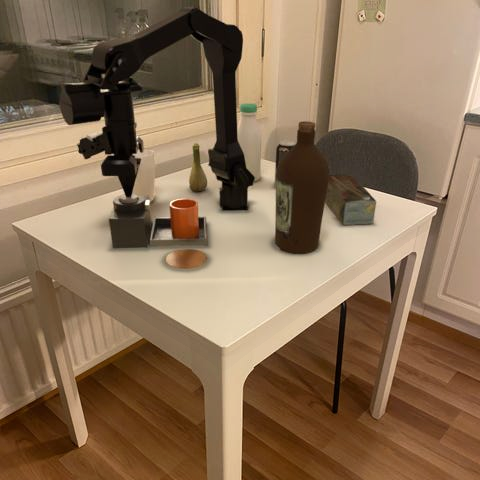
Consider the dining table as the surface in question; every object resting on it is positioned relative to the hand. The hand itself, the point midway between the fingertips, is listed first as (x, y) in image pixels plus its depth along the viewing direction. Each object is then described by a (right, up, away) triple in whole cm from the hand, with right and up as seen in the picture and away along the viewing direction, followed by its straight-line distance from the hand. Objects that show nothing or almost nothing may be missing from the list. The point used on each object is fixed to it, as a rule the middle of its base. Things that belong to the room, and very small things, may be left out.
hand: (128, 196), depth 102 cm
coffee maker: (0, -8, +5) cm, 9 cm away
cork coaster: (+13, -14, -4) cm, 19 cm away
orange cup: (+11, -7, +6) cm, 14 cm away
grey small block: (+4, -3, +2) cm, 5 cm away
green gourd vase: (+12, +9, +30) cm, 34 cm away
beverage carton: (+50, +1, +20) cm, 54 cm away
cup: (-2, +5, +24) cm, 24 cm away
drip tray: (+10, -7, +6) cm, 14 cm away
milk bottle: (+25, +15, +39) cm, 49 cm away
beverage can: (+36, +11, +34) cm, 51 cm away
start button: (0, -2, +1) cm, 2 cm away
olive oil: (+36, -10, +3) cm, 37 cm away
